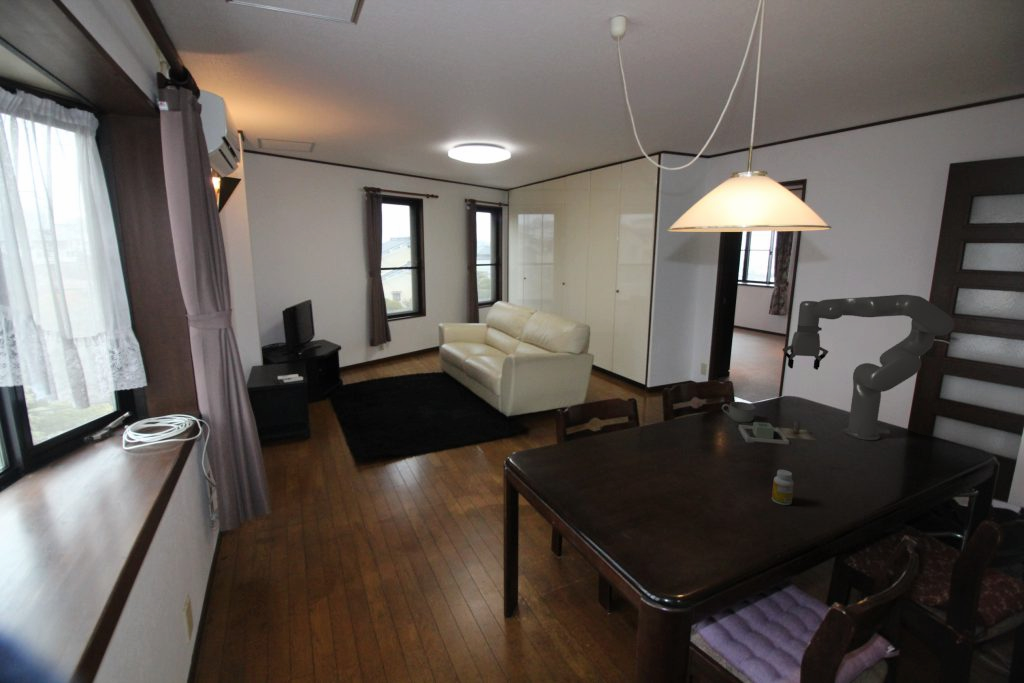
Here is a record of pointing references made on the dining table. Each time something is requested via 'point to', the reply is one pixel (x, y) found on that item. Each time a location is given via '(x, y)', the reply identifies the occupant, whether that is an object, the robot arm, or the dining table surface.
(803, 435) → the wooden peg base
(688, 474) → the dining table surface
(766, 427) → the green hollow square block
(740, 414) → the teacup
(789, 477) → the supplement bottle
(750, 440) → the tray
